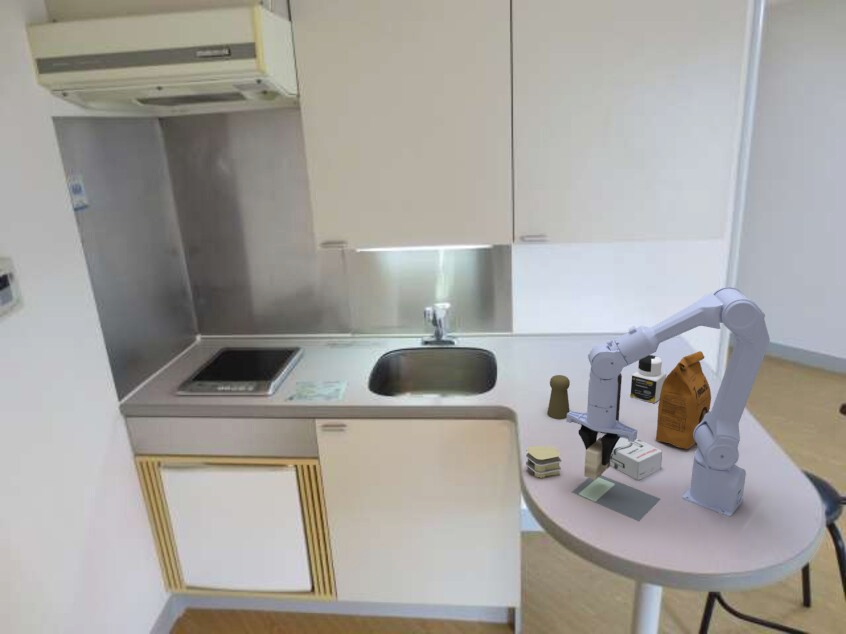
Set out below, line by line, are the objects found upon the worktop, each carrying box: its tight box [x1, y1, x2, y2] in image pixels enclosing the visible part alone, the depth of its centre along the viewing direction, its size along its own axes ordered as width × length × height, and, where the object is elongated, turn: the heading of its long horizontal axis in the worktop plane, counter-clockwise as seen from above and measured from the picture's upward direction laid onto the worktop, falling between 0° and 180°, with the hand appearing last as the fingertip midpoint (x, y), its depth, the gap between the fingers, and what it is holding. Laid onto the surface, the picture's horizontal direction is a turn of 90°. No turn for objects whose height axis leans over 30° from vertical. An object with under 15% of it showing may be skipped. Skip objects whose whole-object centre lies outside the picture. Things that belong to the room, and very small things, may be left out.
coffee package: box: [655, 350, 712, 450], centre depth 143 cm, size 10×12×22 cm
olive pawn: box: [546, 374, 571, 420], centre depth 160 cm, size 6×6×11 cm
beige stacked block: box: [525, 445, 562, 479], centre depth 134 cm, size 10×9×6 cm
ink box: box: [610, 437, 663, 481], centre depth 136 cm, size 9×5×12 cm
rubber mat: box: [571, 474, 661, 522], centre depth 125 cm, size 15×10×1 cm, turn 45°
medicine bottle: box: [630, 354, 667, 404], centre depth 168 cm, size 7×7×12 cm
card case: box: [583, 437, 611, 480], centre depth 124 cm, size 7×3×6 cm, turn 139°
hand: (598, 460), depth 125 cm, fingers closed on card case, 2 cm apart
